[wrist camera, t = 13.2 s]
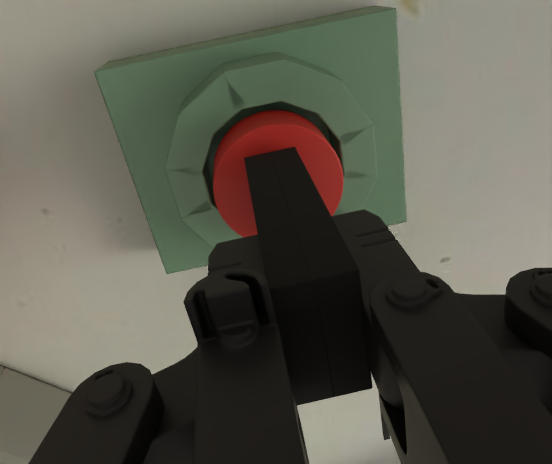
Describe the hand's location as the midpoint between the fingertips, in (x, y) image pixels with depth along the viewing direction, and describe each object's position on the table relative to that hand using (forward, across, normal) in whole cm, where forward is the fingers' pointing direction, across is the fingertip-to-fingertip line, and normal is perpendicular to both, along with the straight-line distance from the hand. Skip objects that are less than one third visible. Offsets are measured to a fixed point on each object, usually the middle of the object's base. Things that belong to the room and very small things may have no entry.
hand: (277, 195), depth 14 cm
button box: (+6, 0, 0) cm, 6 cm away
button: (+2, 0, 0) cm, 2 cm away
